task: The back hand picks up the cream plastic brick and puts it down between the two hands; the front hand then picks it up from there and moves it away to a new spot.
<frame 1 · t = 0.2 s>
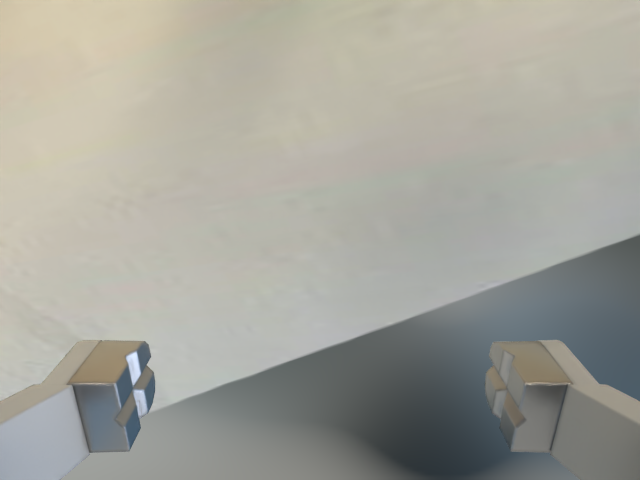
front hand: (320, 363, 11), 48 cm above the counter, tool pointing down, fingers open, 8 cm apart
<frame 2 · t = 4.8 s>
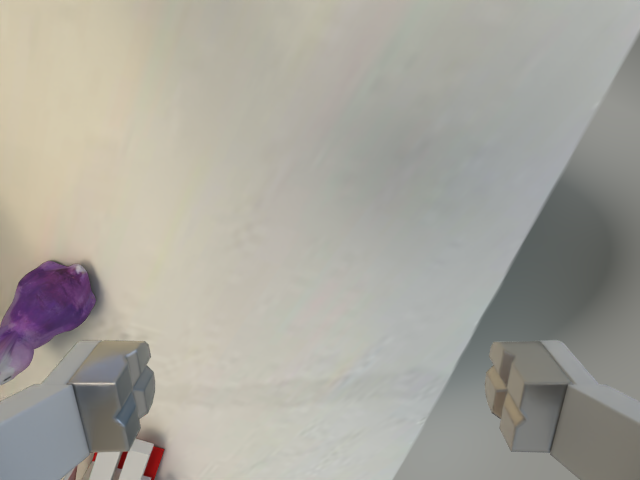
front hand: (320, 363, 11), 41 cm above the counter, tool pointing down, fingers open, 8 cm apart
figurine: (65, 295, 56), on the counter
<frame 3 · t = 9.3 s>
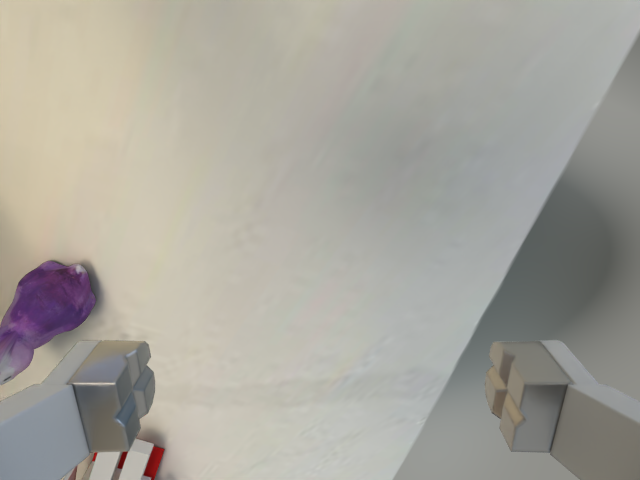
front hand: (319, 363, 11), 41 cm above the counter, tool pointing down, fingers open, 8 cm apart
figurine: (65, 295, 56), on the counter
when the back hand's fingers open (1 cm above the counter, at t = 14.0 s): brick stays where it is, on the counter.
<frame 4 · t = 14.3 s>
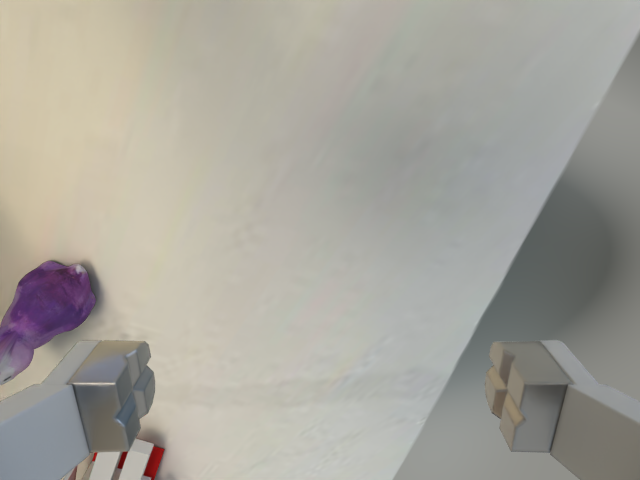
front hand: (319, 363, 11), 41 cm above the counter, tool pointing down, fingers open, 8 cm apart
figurine: (65, 295, 56), on the counter
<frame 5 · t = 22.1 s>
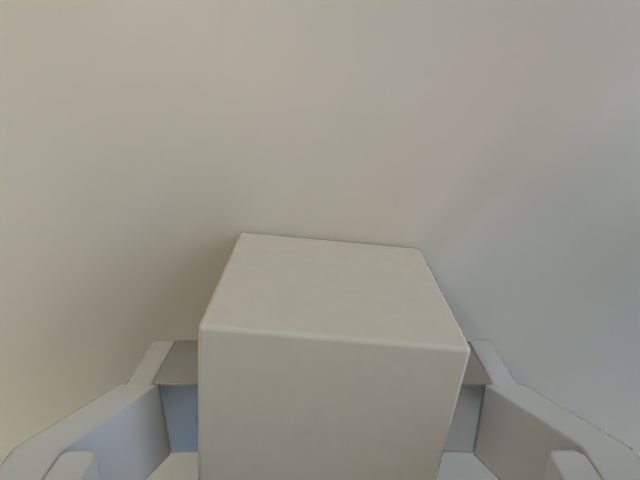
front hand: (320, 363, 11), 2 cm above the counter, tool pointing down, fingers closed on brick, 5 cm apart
brick: (321, 316, 12), on the counter, touching front hand
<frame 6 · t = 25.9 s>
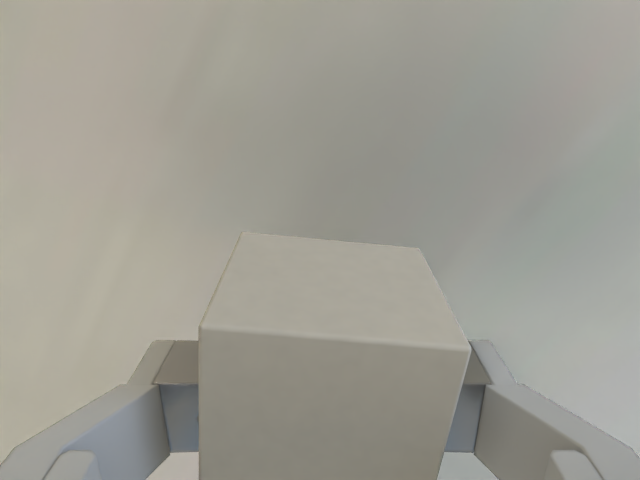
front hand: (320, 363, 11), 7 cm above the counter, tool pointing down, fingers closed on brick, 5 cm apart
brick: (322, 316, 12), point 6 cm above the counter, touching front hand
when the front hand's fingers open (3 cm above the counter, at t = 29.9 s): brick stays where it is, on the counter.
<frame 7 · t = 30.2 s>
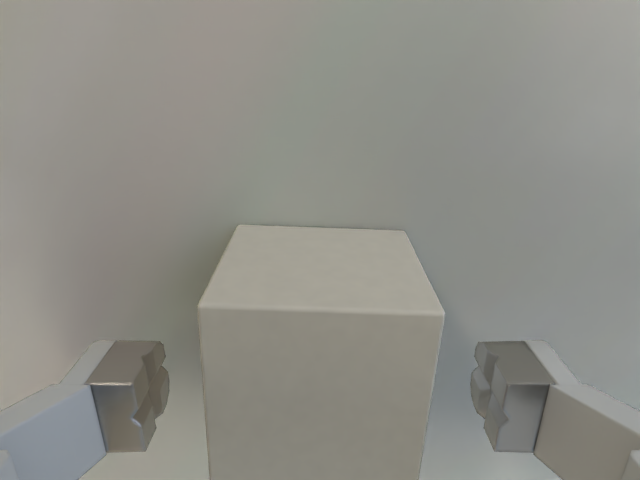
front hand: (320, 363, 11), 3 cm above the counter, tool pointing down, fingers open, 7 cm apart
brick: (318, 300, 13), on the counter
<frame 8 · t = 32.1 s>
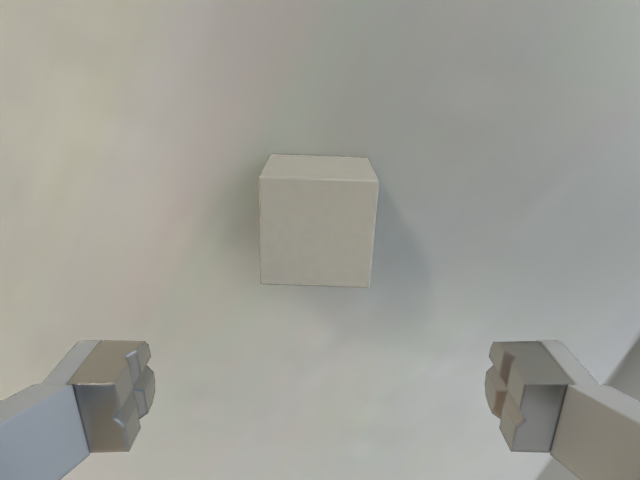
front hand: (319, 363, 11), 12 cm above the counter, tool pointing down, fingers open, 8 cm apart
brick: (317, 202, 22), on the counter
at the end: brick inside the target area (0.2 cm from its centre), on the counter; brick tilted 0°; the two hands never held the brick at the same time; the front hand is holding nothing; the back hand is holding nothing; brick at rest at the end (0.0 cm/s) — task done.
